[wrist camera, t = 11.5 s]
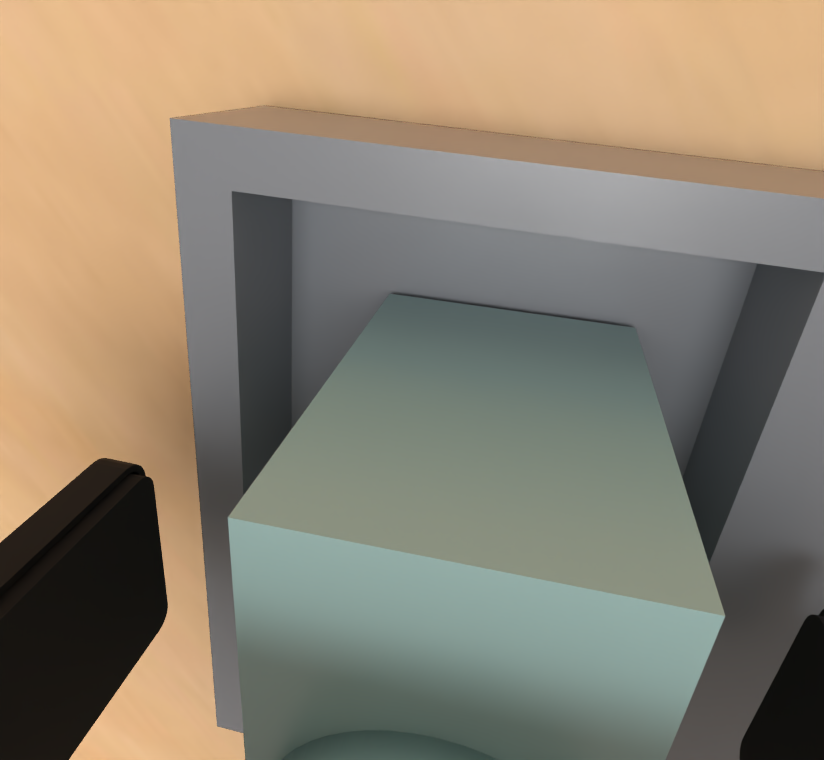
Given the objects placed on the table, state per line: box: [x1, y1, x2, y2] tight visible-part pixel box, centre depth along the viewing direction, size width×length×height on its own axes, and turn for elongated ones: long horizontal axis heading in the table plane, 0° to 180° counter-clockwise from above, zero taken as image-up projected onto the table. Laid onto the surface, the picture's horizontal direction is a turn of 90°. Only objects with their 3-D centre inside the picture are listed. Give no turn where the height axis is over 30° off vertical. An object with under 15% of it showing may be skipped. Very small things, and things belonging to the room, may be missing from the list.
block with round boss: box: [228, 294, 725, 760], centre depth 9 cm, size 4×8×7 cm, turn 176°
